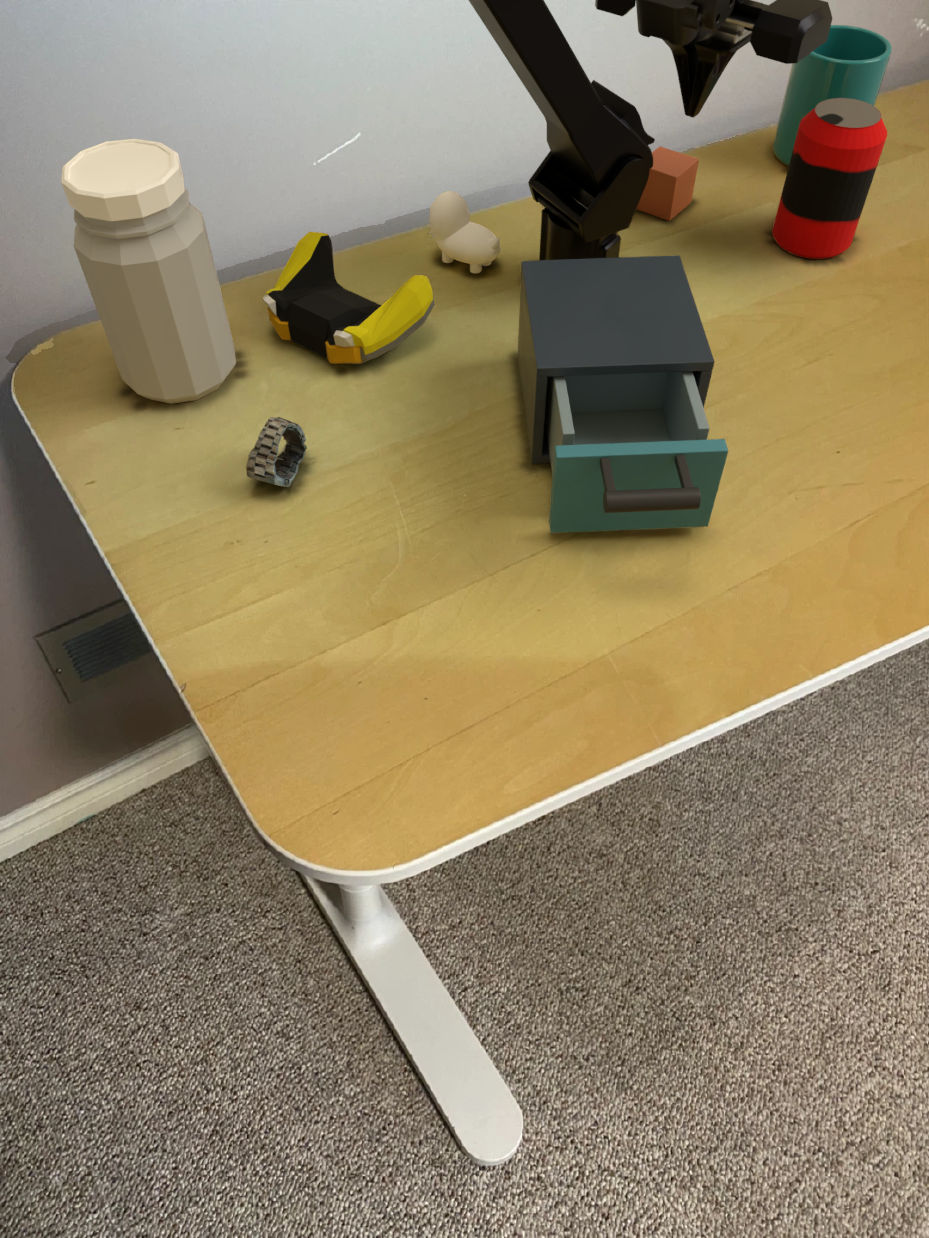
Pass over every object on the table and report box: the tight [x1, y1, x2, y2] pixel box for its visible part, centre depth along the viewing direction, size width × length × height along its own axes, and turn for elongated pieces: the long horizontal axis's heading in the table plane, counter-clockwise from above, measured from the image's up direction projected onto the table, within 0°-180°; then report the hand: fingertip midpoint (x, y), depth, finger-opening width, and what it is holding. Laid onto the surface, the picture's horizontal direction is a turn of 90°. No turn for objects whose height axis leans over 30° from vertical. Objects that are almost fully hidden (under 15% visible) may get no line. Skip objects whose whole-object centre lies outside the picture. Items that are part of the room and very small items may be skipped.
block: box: [636, 146, 700, 222], centre depth 96 cm, size 4×4×4 cm
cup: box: [772, 24, 893, 167], centre depth 100 cm, size 9×12×11 cm
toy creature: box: [426, 190, 502, 274], centre depth 90 cm, size 5×8×6 cm, turn 56°
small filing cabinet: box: [517, 254, 716, 465], centre depth 75 cm, size 14×13×9 cm
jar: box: [60, 138, 237, 405], centre depth 75 cm, size 10×10×18 cm
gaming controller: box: [262, 231, 435, 365], centre depth 84 cm, size 15×6×10 cm
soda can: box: [771, 98, 888, 260], centre depth 89 cm, size 8×8×12 cm
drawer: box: [544, 371, 729, 534], centre depth 68 cm, size 17×11×8 cm
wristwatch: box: [245, 416, 308, 488], centre depth 73 cm, size 3×5×5 cm
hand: (691, 115), depth 84 cm, fingers closed
